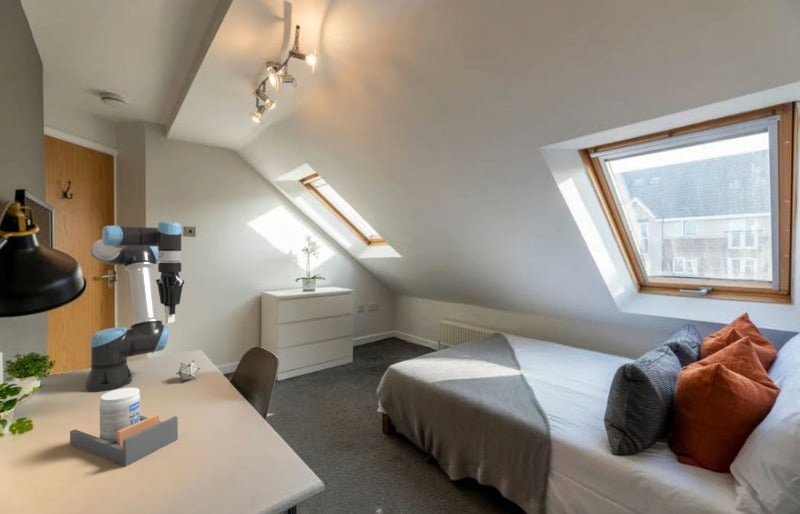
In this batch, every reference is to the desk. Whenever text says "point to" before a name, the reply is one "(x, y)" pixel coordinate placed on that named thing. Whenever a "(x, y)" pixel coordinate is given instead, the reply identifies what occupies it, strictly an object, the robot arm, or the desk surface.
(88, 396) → the desk surface
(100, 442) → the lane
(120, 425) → the supplement tub
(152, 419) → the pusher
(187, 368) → the game die
